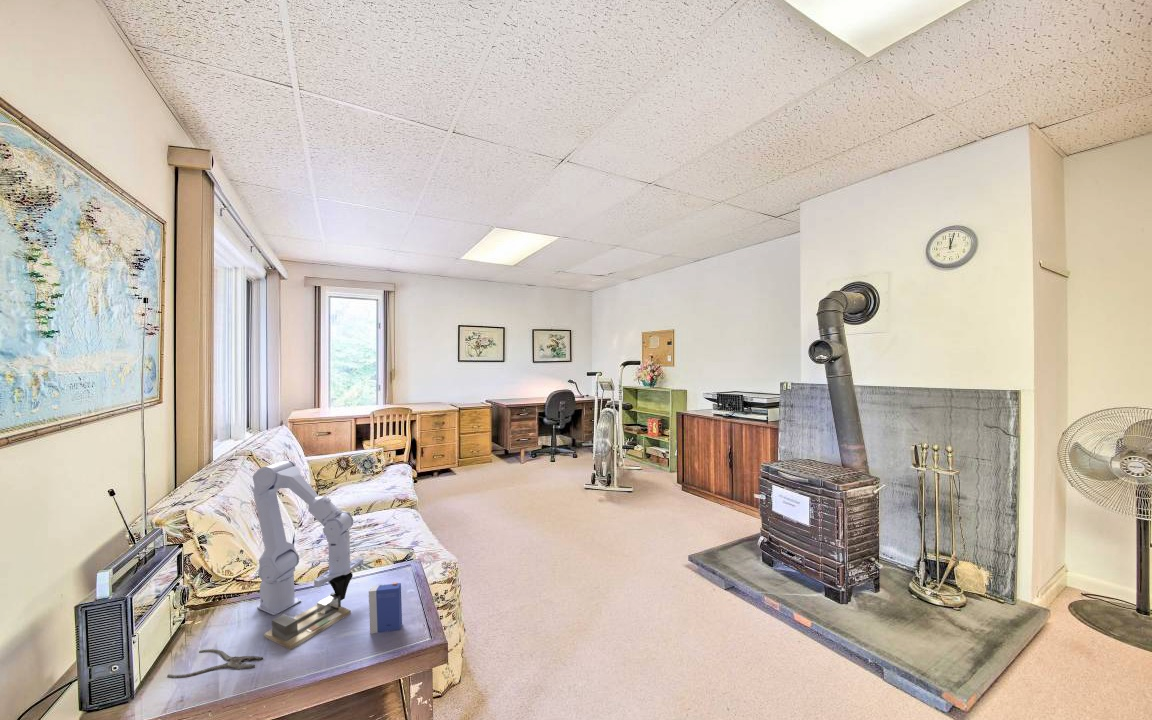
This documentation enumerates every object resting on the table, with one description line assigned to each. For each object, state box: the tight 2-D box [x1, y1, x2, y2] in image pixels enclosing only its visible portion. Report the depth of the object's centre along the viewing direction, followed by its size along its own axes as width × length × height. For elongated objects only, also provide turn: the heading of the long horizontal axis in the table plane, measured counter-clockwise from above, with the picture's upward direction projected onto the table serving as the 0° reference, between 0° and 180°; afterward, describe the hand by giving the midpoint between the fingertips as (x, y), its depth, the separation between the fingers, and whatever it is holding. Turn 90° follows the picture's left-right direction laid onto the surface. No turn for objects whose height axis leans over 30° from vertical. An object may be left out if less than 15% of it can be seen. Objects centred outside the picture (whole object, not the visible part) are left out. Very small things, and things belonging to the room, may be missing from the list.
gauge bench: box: [264, 604, 352, 650], centre depth 120 cm, size 17×12×5 cm
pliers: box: [166, 648, 264, 679], centre depth 107 cm, size 10×1×20 cm
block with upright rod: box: [316, 592, 342, 615], centre depth 124 cm, size 5×7×3 cm
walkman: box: [368, 582, 403, 634], centre depth 117 cm, size 8×3×12 cm, turn 99°
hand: (340, 598), depth 128 cm, fingers closed
